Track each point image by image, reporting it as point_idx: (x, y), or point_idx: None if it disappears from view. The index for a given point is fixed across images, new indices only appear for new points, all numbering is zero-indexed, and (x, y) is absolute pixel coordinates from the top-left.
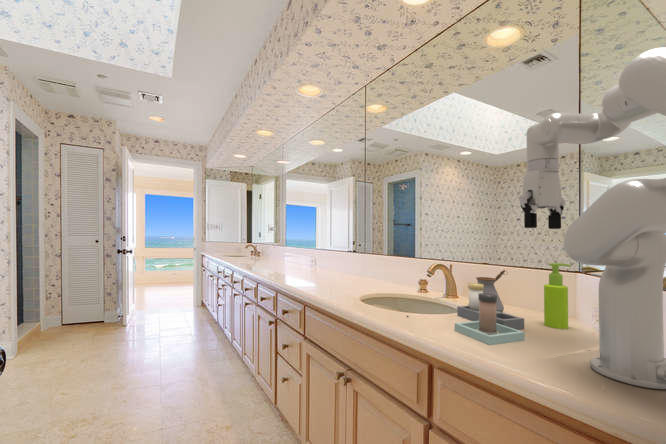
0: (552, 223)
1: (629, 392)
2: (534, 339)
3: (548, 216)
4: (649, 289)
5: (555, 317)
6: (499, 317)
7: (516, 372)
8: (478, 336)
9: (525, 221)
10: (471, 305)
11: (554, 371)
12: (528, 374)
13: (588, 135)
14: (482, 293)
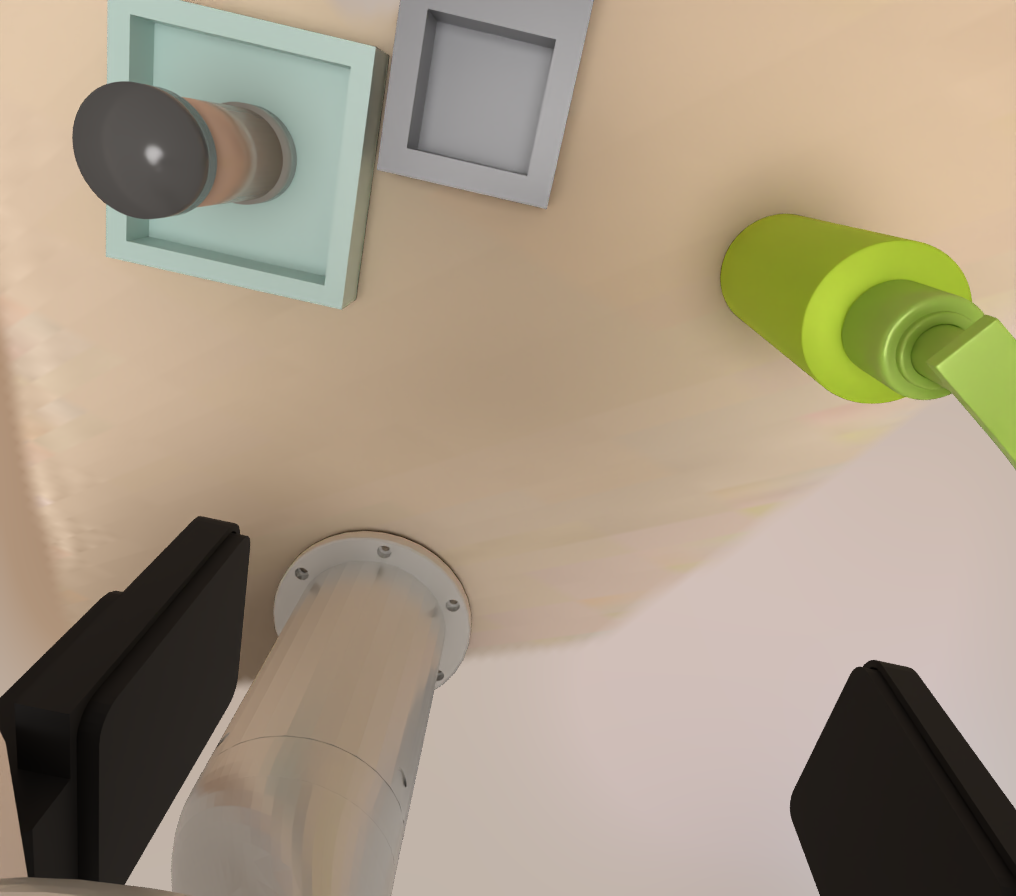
0: (867, 796)
1: None
2: (471, 291)
3: (991, 883)
4: None
5: (741, 304)
6: (542, 40)
7: (41, 424)
8: None
9: (85, 619)
10: None
11: (175, 485)
12: (67, 451)
13: None
14: (139, 97)
